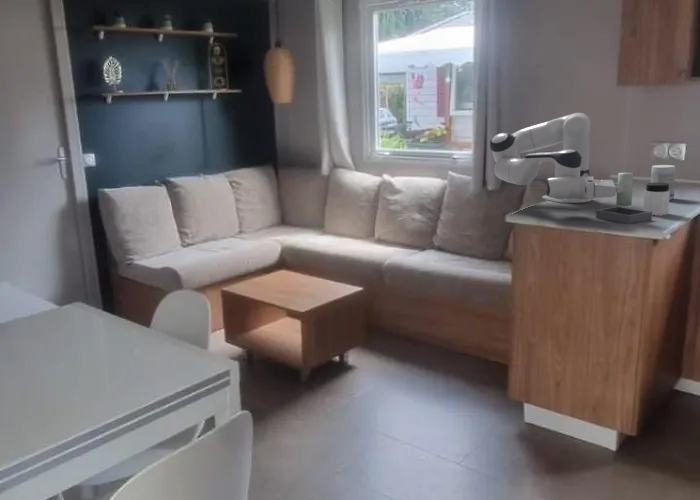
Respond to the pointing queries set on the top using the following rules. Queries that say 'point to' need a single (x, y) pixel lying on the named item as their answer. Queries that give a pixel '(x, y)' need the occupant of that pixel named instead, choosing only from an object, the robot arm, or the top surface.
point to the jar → (657, 198)
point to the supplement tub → (664, 176)
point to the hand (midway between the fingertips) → (627, 187)
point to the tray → (623, 215)
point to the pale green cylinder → (625, 197)
